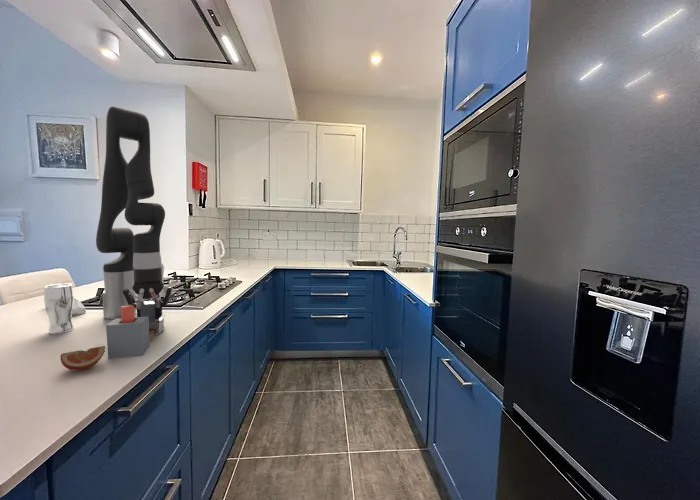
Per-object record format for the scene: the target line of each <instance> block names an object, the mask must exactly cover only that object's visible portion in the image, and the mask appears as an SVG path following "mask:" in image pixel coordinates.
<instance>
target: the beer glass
mask: <svg viewBox="0 0 700 500" xmlns="http://www.w3.org/2000/svg"><path fill="white" fill-rule="evenodd" d="M43 292H44V294H43V297H44V299H43V302H44V308H45V310H46V314H47V316H48V320H49V326H48V327H49V328H48V334H51V335H59V334H60V335H61V334H65V333H68V332H71V331H74V330H75V327H74V324H73V321H72V317H73V316H72V310H73V303H74V298H75V297H74V289H73V284H72V283H57V284H54V283H53V284H50V285H46V286H44V291H43Z"/></svg>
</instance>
